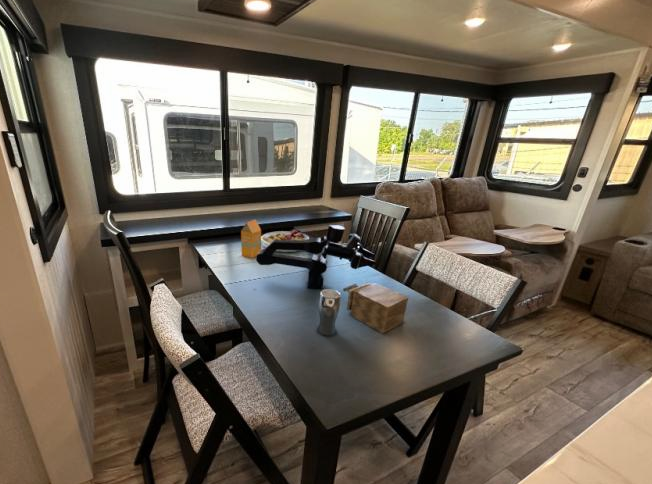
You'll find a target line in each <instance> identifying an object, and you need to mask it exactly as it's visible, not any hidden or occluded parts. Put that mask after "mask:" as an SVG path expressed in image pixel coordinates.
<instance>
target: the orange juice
mask: <svg viewBox="0 0 652 484" xmlns="http://www.w3.org/2000/svg"><path fill="white" fill-rule="evenodd" d="M261 237H262V229H261V227H260V225H259V223H258V221H257V219H256V218H255V219H252V220H249V221H246V222H245V224H244V226H243V227H242V229H241V230H240V244H241V247H240V248H241V256H243V257H246V258H250V259H253V258H256V256H257V255H258V253H259V252H260V251H261V250H262V242H261Z"/></svg>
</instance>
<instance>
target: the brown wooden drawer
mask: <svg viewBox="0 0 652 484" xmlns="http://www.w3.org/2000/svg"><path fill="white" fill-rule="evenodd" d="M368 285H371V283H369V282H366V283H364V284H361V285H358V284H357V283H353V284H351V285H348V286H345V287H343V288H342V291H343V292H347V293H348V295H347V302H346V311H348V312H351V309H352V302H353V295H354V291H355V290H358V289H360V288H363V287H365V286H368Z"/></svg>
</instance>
